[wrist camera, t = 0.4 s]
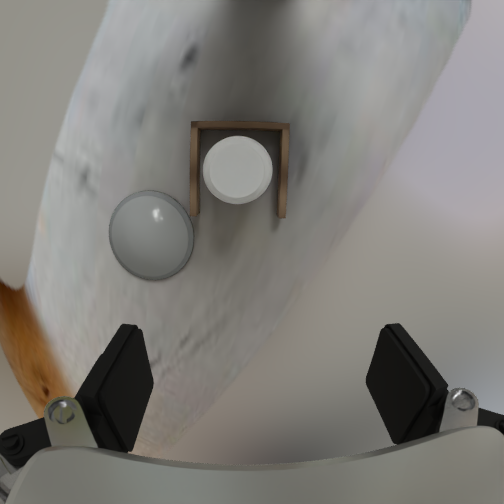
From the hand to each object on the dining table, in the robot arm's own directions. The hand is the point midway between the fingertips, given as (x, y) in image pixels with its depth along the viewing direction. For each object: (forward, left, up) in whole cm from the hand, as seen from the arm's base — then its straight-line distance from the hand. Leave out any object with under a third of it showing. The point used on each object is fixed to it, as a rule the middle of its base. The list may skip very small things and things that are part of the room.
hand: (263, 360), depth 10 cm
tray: (+3, -14, -28) cm, 31 cm away
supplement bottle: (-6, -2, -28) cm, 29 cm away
